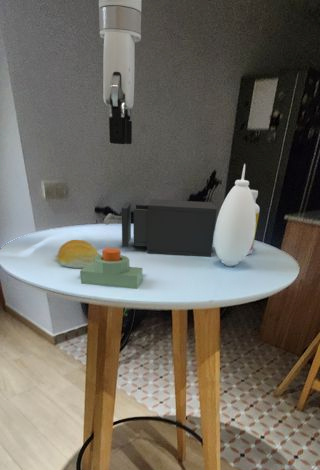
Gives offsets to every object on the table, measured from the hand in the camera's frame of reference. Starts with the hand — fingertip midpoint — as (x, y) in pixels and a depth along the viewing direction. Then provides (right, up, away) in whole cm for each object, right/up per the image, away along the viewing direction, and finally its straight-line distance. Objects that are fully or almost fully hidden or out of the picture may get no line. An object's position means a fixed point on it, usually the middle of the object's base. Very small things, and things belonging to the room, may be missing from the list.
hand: (121, 143), depth 76 cm
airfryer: (+13, -18, +10) cm, 24 cm away
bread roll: (-9, -26, -2) cm, 27 cm away
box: (0, -33, -11) cm, 35 cm away
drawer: (+4, -16, +10) cm, 20 cm away
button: (0, -30, -13) cm, 33 cm away
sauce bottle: (+23, -25, +2) cm, 34 cm away
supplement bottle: (+27, -18, +11) cm, 34 cm away
